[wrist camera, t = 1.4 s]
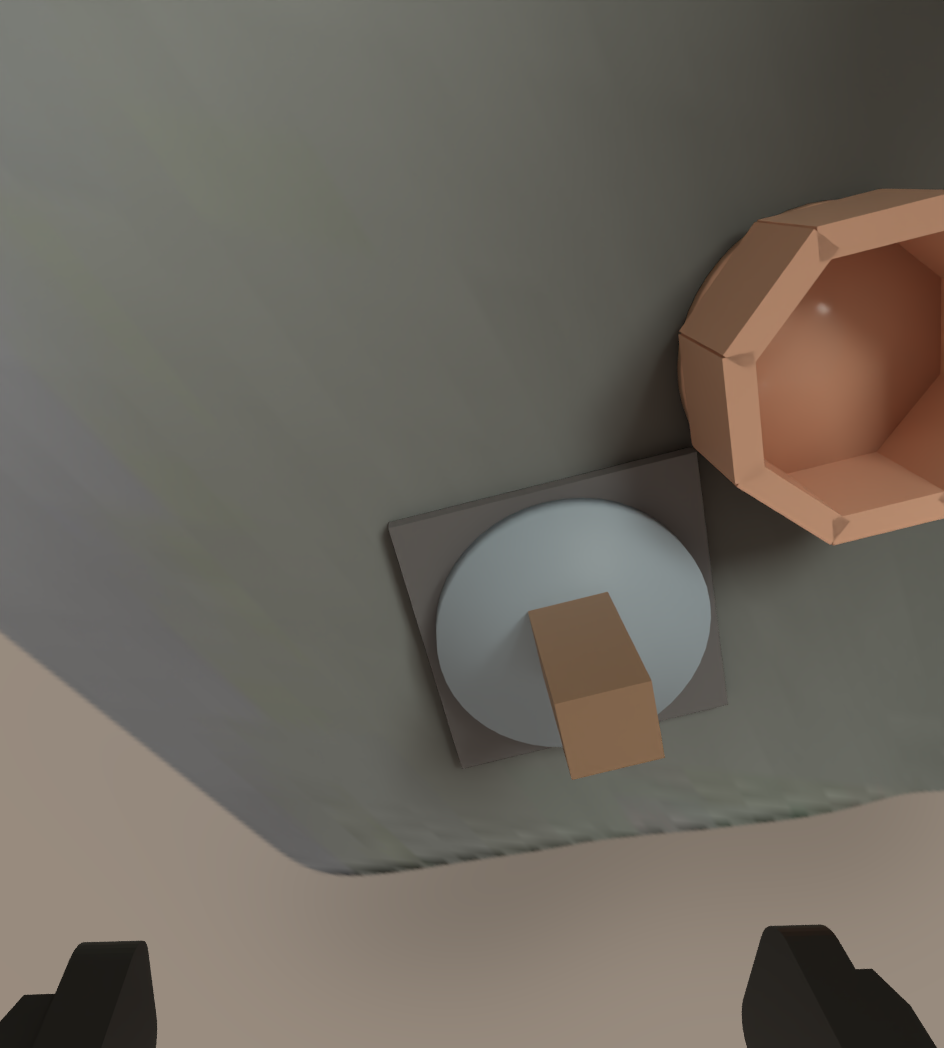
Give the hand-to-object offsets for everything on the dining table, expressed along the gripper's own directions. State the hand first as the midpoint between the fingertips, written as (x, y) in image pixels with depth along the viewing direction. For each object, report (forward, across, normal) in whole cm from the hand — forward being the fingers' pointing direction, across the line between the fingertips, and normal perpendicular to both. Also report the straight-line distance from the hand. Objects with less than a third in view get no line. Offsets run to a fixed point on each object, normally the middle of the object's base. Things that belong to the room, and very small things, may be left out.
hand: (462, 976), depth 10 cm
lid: (+21, -6, +6) cm, 23 cm away
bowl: (+21, -14, -5) cm, 26 cm away
